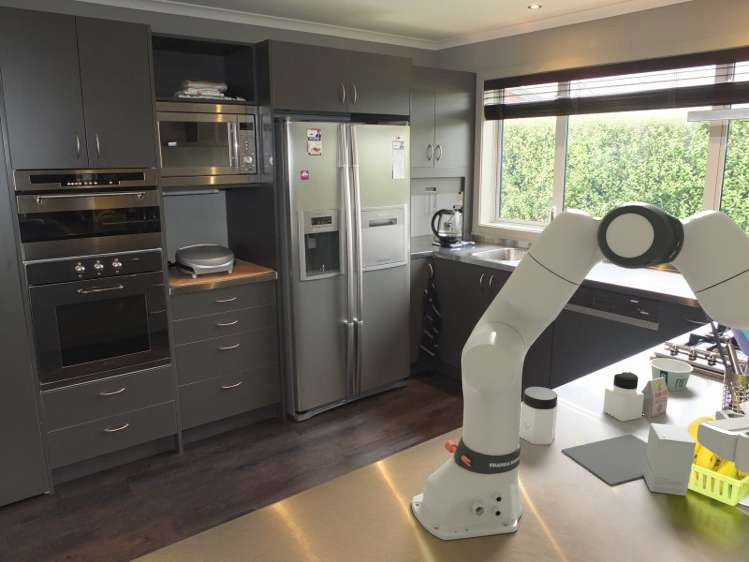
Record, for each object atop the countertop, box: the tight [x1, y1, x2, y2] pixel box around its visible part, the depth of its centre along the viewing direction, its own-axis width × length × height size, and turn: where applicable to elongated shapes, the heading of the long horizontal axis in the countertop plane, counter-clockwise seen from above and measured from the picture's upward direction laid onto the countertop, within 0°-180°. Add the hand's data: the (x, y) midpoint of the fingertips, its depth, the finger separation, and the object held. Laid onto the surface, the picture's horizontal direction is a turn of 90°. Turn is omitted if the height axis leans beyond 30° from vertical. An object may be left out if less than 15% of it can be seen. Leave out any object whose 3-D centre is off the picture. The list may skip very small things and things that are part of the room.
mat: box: [561, 433, 648, 487], centre depth 138 cm, size 22×16×1 cm
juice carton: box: [640, 377, 669, 418], centre depth 162 cm, size 4×7×10 cm, turn 119°
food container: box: [649, 357, 694, 391], centre depth 182 cm, size 12×12×6 cm
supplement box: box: [642, 422, 697, 497], centre depth 126 cm, size 7×7×13 cm
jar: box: [519, 386, 558, 445], centre depth 147 cm, size 9×8×12 cm
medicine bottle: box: [602, 370, 644, 423], centre depth 160 cm, size 7×7×12 cm
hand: (722, 413), depth 111 cm, fingers closed
